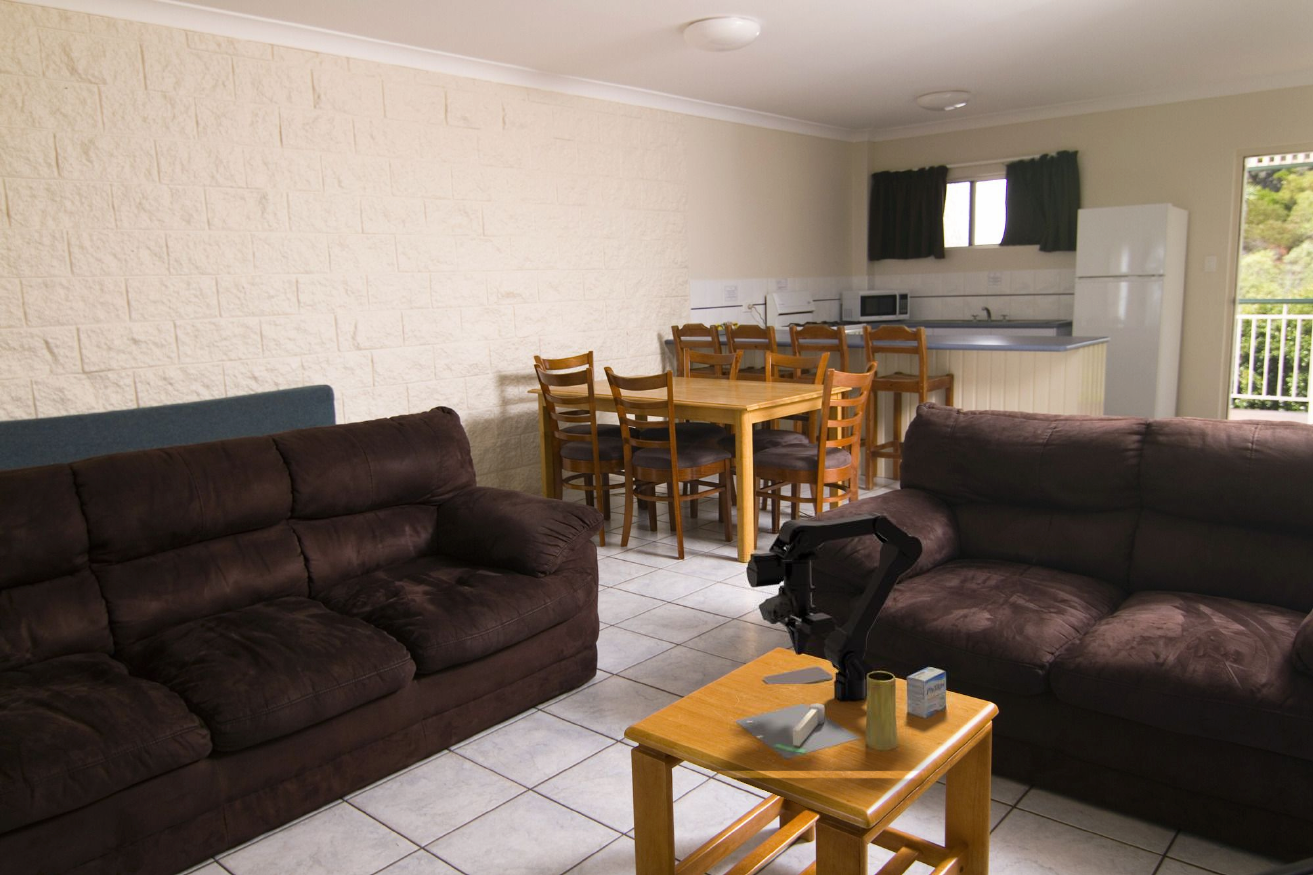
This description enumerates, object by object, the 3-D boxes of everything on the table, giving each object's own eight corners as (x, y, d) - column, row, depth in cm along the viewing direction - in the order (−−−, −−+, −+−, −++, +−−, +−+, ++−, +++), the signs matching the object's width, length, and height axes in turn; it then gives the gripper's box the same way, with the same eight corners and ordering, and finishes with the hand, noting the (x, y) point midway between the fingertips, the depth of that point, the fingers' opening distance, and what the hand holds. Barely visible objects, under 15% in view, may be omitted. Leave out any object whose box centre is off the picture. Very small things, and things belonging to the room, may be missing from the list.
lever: (812, 716, 186) (812, 702, 185) (826, 719, 184) (826, 704, 184) (788, 743, 174) (788, 728, 174) (803, 746, 173) (803, 731, 172)
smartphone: (761, 677, 210) (817, 665, 215) (761, 681, 210) (818, 669, 215) (776, 688, 203) (834, 676, 208) (776, 692, 203) (834, 680, 208)
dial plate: (803, 707, 193) (803, 702, 193) (860, 742, 176) (860, 737, 176) (734, 725, 186) (733, 720, 186) (786, 763, 169) (785, 757, 169)
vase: (892, 758, 170) (891, 684, 168) (860, 751, 173) (859, 678, 171) (902, 744, 175) (901, 673, 173) (871, 738, 178) (870, 667, 176)
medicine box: (925, 722, 184) (925, 681, 183) (906, 716, 187) (906, 675, 186) (946, 711, 189) (946, 670, 188) (927, 705, 193) (927, 665, 191)
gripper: (740, 577, 194) (742, 648, 196) (790, 599, 178) (791, 676, 180) (784, 569, 199) (786, 638, 201) (836, 590, 182) (838, 665, 184)
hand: (798, 654), depth 191 cm, fingers closed
